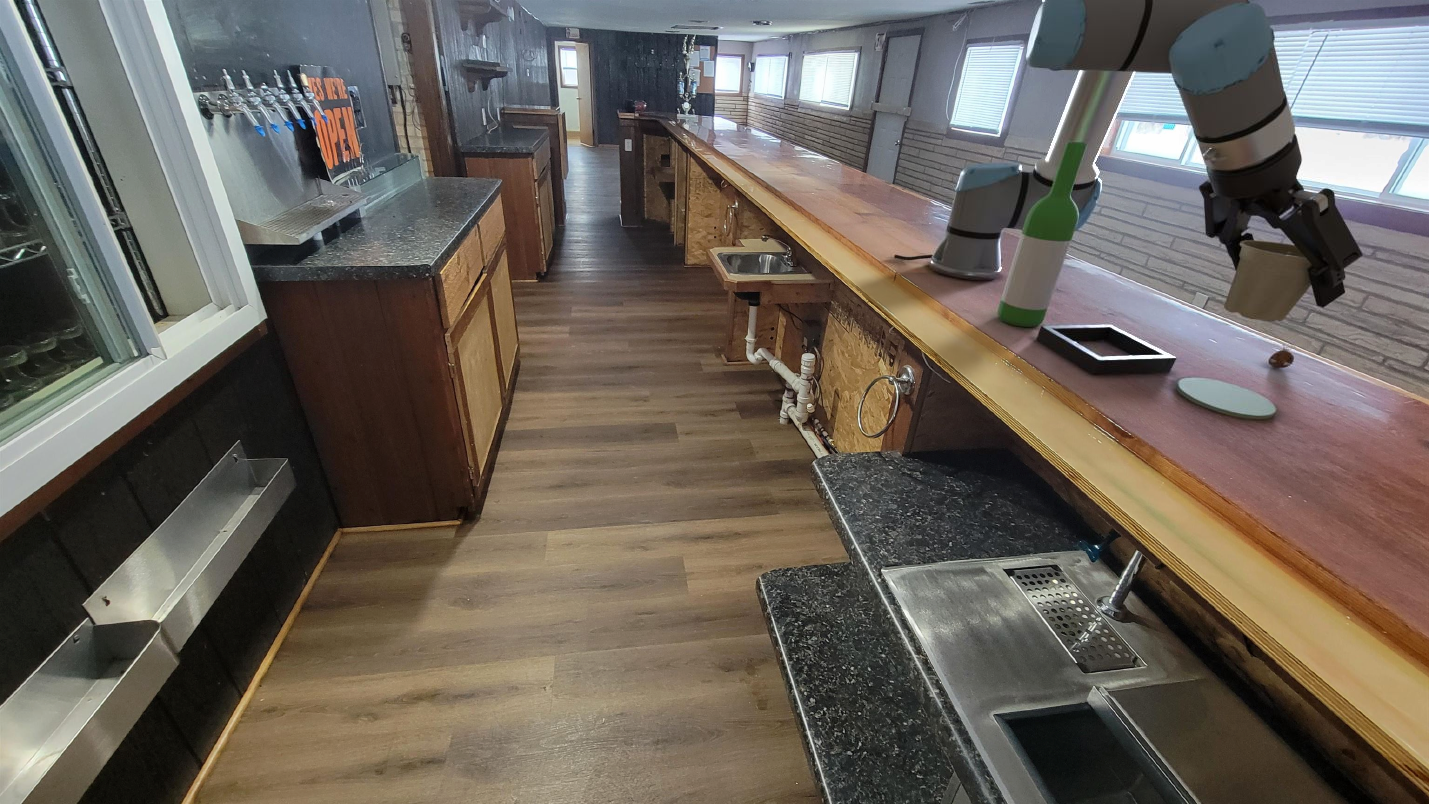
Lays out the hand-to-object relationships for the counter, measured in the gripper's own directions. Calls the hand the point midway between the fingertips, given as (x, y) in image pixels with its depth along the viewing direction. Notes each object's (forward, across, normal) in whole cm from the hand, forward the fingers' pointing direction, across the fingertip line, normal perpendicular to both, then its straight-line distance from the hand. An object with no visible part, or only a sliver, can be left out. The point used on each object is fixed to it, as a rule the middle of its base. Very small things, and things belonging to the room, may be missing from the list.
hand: (1288, 286), depth 73 cm
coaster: (+10, +1, -13) cm, 16 cm away
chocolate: (+24, -7, +1) cm, 25 cm away
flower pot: (+1, 0, -5) cm, 5 cm away
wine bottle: (+2, -29, -21) cm, 36 cm away
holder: (+5, -14, -18) cm, 23 cm away
